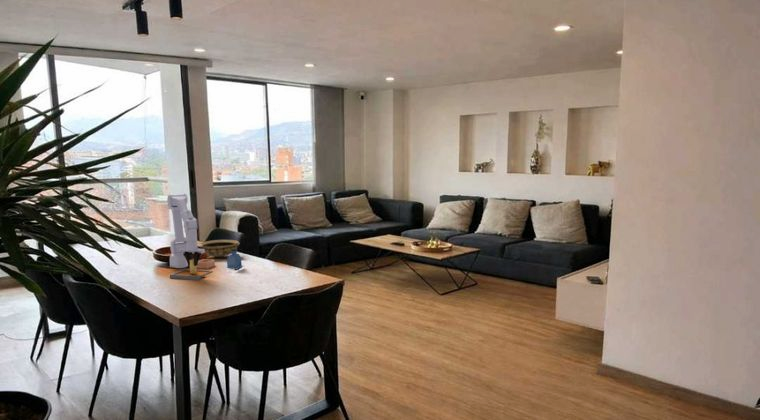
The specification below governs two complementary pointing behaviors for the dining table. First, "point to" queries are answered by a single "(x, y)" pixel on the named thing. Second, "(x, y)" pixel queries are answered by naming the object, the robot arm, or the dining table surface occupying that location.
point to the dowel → (192, 267)
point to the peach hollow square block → (205, 263)
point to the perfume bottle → (234, 260)
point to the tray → (189, 275)
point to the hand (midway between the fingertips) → (192, 265)
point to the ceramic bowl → (219, 247)
